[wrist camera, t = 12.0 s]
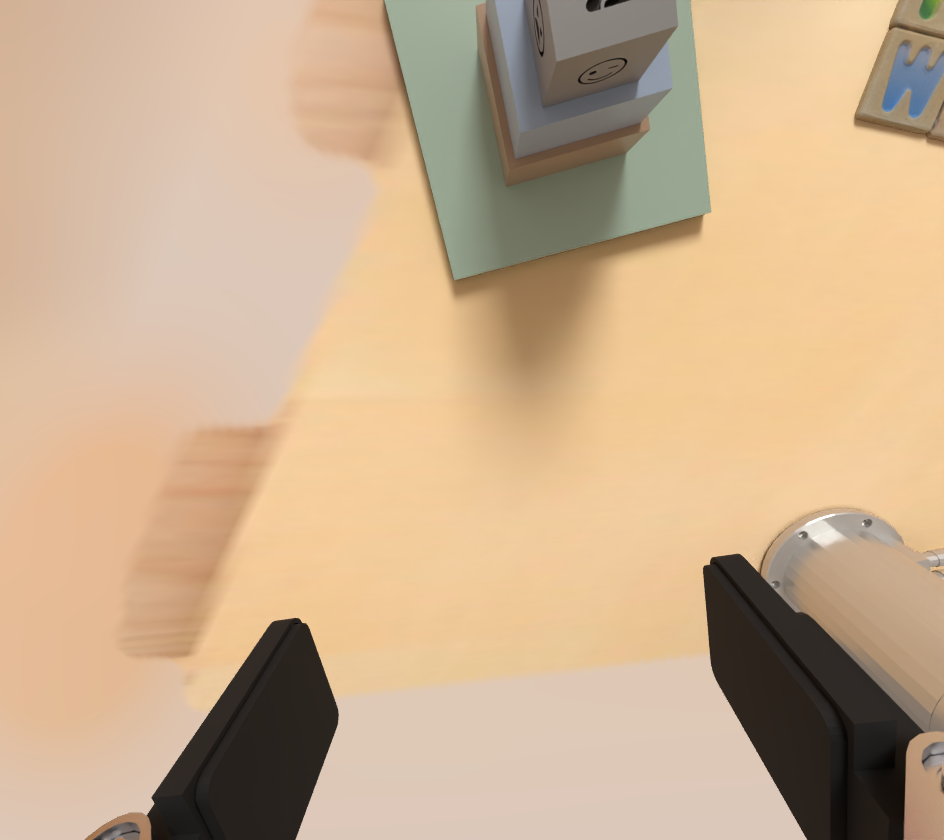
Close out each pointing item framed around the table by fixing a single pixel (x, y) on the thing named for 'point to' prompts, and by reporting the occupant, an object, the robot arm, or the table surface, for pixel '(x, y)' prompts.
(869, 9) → the table surface
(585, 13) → the dice cube
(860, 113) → the alphabet tiles
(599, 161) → the stepped block pyramid
